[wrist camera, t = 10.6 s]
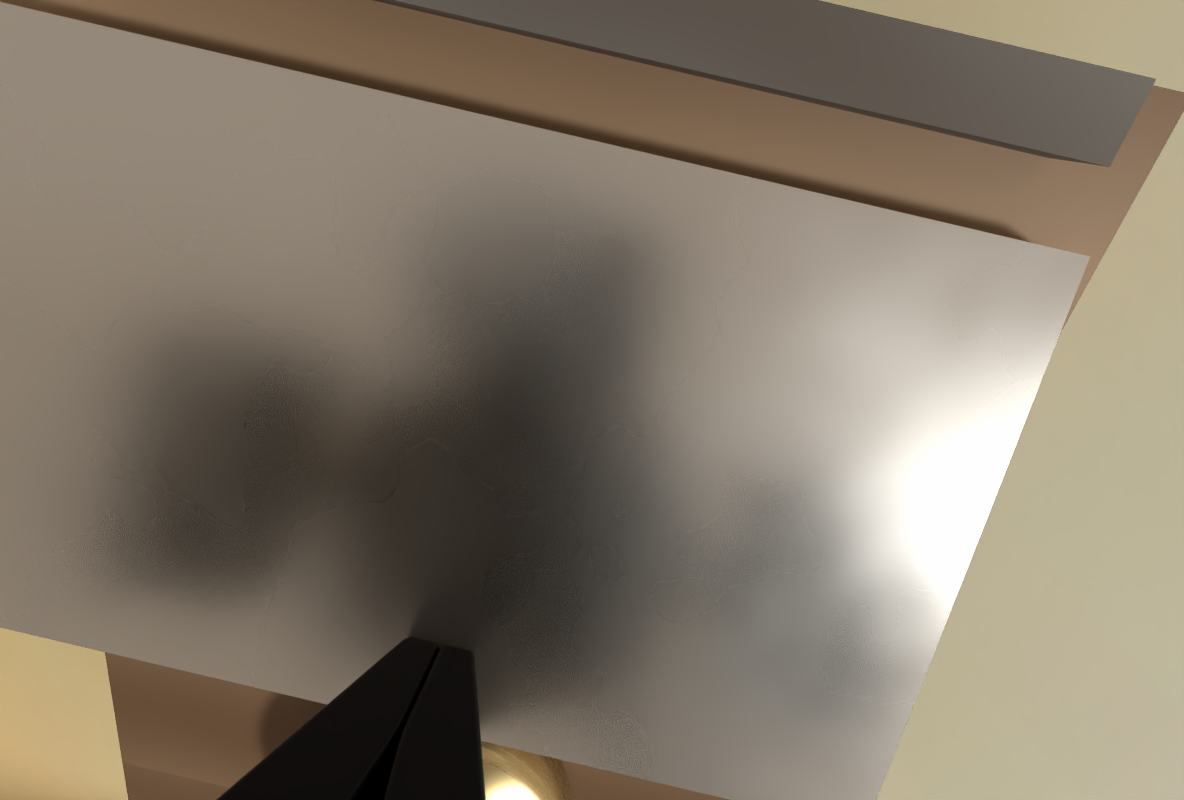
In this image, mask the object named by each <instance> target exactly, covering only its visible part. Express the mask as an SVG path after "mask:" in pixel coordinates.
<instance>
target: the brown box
mask: <svg viewBox="0 0 1184 800" xmlns="http://www.w3.org/2000/svg"><path fill="white" fill-rule="evenodd" d="M1 2H3V3H7V4H12V5H16V6H20V7H24V8H29V9H33V10H37V11H42V12H46V13H50V14H54V15H59V16H63V17H67V18H71V19H76V20H80V21H84V22H89V23H93V24H97V25H101V26H106V27H110V28H114V29H119V30H123V31H127V32H131V33H136V34H140V35H144V36H149V37H153V38H157V39H161V40H166V41H170V42H174V43H178V44H183V45H187V46H191V47H196V48H200V49H204V50H208V51H213V52H217V53H221V54H226V55H230V56H234V57H238V58H243V59H247V60H251V61H255V62H260V63H264V64H268V65H273V66H277V67H281V68H285V69H290V70H294V71H298V72H303V73H307V74H311V75H315V76H320V77H324V78H328V79H333V80H337V81H341V82H345V83H350V84H354V85H358V86H362V87H367V88H371V89H375V90H380V91H384V92H388V93H392V94H397V95H401V96H405V97H410V98H414V99H418V100H422V101H427V102H431V103H435V104H439V105H444V106H448V107H452V108H457V109H461V110H465V111H469V112H474V113H478V114H482V115H487V116H491V117H495V118H499V119H504V120H508V121H512V122H517V123H521V124H525V125H529V126H534V127H538V128H542V129H546V130H551V131H555V132H559V133H564V134H568V135H572V136H576V137H581V138H585V139H589V140H594V141H598V142H602V143H606V144H611V145H615V146H619V147H623V148H628V149H632V150H636V151H641V152H645V153H649V154H653V155H658V156H662V157H666V158H671V159H675V160H679V161H683V162H688V163H692V164H696V165H701V166H705V167H709V168H713V169H718V170H722V171H726V172H730V173H735V174H739V175H743V176H748V177H752V178H756V179H760V180H765V181H769V182H773V183H778V184H782V185H786V186H790V187H795V188H799V189H803V190H807V191H812V192H816V193H820V194H825V195H829V196H833V197H837V198H842V199H846V200H850V201H855V202H859V203H863V204H867V205H872V206H876V207H880V208H885V209H889V210H893V211H897V212H902V213H906V214H910V215H914V216H919V217H923V218H927V219H932V220H936V221H940V222H944V223H949V224H953V225H957V226H962V227H966V228H970V229H974V230H979V231H983V232H987V233H992V234H996V235H1000V236H1004V237H1009V238H1013V239H1017V240H1021V241H1026V242H1030V243H1034V244H1039V245H1043V246H1047V247H1051V248H1056V249H1060V250H1064V251H1069V252H1073V253H1077V254H1081V255H1086V256H1090V259H1089V261H1088V264H1087V266H1086V269H1085V271H1084V274H1083V276H1082V279H1081V281H1080V284H1079V286H1078V289H1077V292H1076V294H1075V297H1074V299H1073V302H1072V304H1071V307H1070V309H1069V312H1068V314H1067V317H1066V319H1065V322H1064V325H1063V327H1062V329H1063V328H1064V326H1065V324H1066V322H1067V320H1068V319H1069V317H1070V315H1071V313H1072V311H1073V310H1074V308H1075V306H1076V304H1077V302H1078V301H1079V299H1080V297H1081V295H1082V293H1083V292H1084V290H1085V288H1086V286H1087V284H1088V283H1089V281H1090V279H1091V277H1092V275H1093V273H1094V272H1095V270H1096V268H1097V266H1098V264H1099V263H1100V261H1101V259H1102V257H1103V255H1104V254H1105V252H1106V250H1107V248H1108V246H1109V245H1110V243H1111V241H1112V239H1113V237H1114V236H1115V234H1116V232H1117V230H1118V228H1119V227H1120V225H1121V223H1122V221H1123V219H1124V218H1125V216H1126V214H1127V212H1128V210H1129V209H1130V207H1131V205H1132V203H1133V201H1134V200H1135V198H1136V196H1137V194H1138V192H1139V191H1140V189H1141V187H1142V185H1143V183H1144V182H1145V180H1146V178H1147V176H1148V174H1149V173H1150V171H1151V169H1152V167H1153V165H1154V164H1155V162H1156V160H1157V158H1158V156H1159V155H1160V153H1161V151H1162V149H1163V147H1164V146H1165V144H1166V142H1167V140H1168V138H1169V137H1170V135H1171V133H1172V131H1173V129H1174V128H1175V126H1176V124H1177V122H1178V120H1179V119H1180V117H1181V115H1182V113H1183V111H1184V92H1179V91H1175V90H1171V89H1166V88H1162V87H1158V86H1154V85H1153V84H1154V82H1155V80H1156V79H1154V78H1150V77H1146V76H1141V75H1137V74H1133V73H1128V72H1124V71H1120V70H1116V69H1111V68H1107V67H1103V66H1098V65H1094V64H1090V63H1086V62H1081V61H1077V60H1073V59H1068V58H1064V57H1060V56H1055V55H1051V54H1047V53H1043V52H1038V51H1034V50H1030V49H1025V48H1021V47H1017V46H1013V45H1008V44H1004V43H1000V42H995V41H991V40H987V39H982V38H978V37H974V36H970V35H965V34H961V33H957V32H952V31H948V30H944V29H940V28H935V27H931V26H927V25H922V24H918V23H914V22H909V21H905V20H901V19H897V18H892V17H888V16H884V15H879V14H875V13H871V12H867V11H862V10H858V9H854V8H849V7H845V6H841V5H836V4H832V3H828V2H824V1H819V0H1ZM1061 331H1062V330H1061ZM1060 333H1061V332H1060ZM105 656H106V662H107V668H108V674H109V681H110V687H111V693H112V699H113V706H114V712H115V718H116V725H117V731H118V737H119V743H120V750H121V756H122V762H123V768H124V775H125V781H126V787H127V794H128V800H216V799H217V798H219V797H220V796H221V795H222V794H223V793H224V792H226V791H227V790H228V789H229V788H230V787H231V786H233V785H234V784H235V783H236V782H237V781H238V780H240V779H241V778H242V777H243V776H244V775H245V774H247V773H248V772H249V771H250V770H251V769H252V768H254V767H255V766H256V765H257V764H258V763H259V762H261V761H262V760H263V759H264V758H265V757H267V756H268V755H269V754H270V753H271V752H272V751H274V750H275V749H276V748H277V747H278V746H279V745H281V744H282V743H283V742H284V741H285V740H286V739H288V738H289V737H290V736H291V735H292V734H293V733H295V732H296V731H297V730H298V729H299V728H300V727H302V726H303V725H304V724H305V723H306V722H307V721H309V720H310V719H311V718H312V717H313V716H314V715H316V714H317V713H318V712H319V711H320V710H321V709H323V708H324V707H325V706H326V705H327V704H323V703H319V702H314V701H310V700H306V699H302V698H297V697H293V696H289V695H285V694H280V693H276V692H272V691H268V690H263V689H259V688H255V687H251V686H247V685H242V684H238V683H234V682H230V681H225V680H221V679H217V678H213V677H208V676H204V675H200V674H196V673H192V672H187V671H183V670H179V669H175V668H170V667H166V666H162V665H158V664H153V663H149V662H145V661H141V660H136V659H132V658H128V657H124V656H120V655H115V654H111V653H107V652H105ZM561 762H562V764H563V766H564V769H565V771H566V774H567V777H568V782H569V787H570V800H729V799H725V798H721V797H716V796H712V795H708V794H704V793H700V792H695V791H691V790H687V789H683V788H678V787H674V786H670V785H666V784H661V783H657V782H653V781H649V780H645V779H640V778H636V777H632V776H628V775H623V774H619V773H615V772H611V771H606V770H602V769H598V768H594V767H589V766H585V765H581V764H577V763H573V762H568V761H564V760H561Z"/></svg>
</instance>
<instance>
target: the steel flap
mask: <svg viewBox="0 0 1184 800" xmlns="http://www.w3.org/2000/svg"><path fill="white" fill-rule="evenodd" d="M1089 259H1090V256H1086V255H1081V254H1077V253H1073V252H1069V251H1064V250H1060V249H1056V248H1051V247H1047V246H1043V245H1039V244H1034V243H1030V242H1026V241H1021V240H1017V239H1013V238H1009V237H1004V236H1000V235H996V234H992V233H987V232H983V231H979V230H974V229H970V228H966V227H962V226H957V225H953V224H949V223H944V222H940V221H936V220H932V219H927V218H923V217H919V216H914V215H910V214H906V213H902V212H897V211H893V210H889V209H885V208H880V207H876V206H872V205H867V204H863V203H859V202H855V201H850V200H846V199H842V198H837V197H833V196H829V195H825V194H820V193H816V192H812V191H807V190H803V189H799V188H795V187H790V186H786V185H782V184H778V183H773V182H769V181H765V180H760V179H756V178H752V177H748V176H743V175H739V174H735V173H730V172H726V171H722V170H718V169H713V168H709V167H705V166H701V165H696V164H692V163H688V162H683V161H679V160H675V159H671V158H666V157H662V156H658V155H653V154H649V153H645V152H641V151H636V150H632V149H628V148H623V147H619V146H615V145H611V144H606V143H602V142H598V141H594V140H589V139H585V138H581V137H576V136H572V135H568V134H564V133H559V132H555V131H551V130H546V129H542V128H538V127H534V126H529V125H525V124H521V123H517V122H512V121H508V120H504V119H499V118H495V117H491V116H487V115H482V114H478V113H474V112H469V111H465V110H461V109H457V108H452V107H448V106H444V105H439V104H435V103H431V102H427V101H422V100H418V99H414V98H410V97H405V96H401V95H397V94H392V93H388V92H384V91H380V90H375V89H371V88H367V87H362V86H358V85H354V84H350V83H345V82H341V81H337V80H333V79H328V78H324V77H320V76H315V75H311V74H307V73H303V72H298V71H294V70H290V69H285V68H281V67H277V66H273V65H268V64H264V63H260V62H255V61H251V60H247V59H243V58H238V57H234V56H230V55H226V54H221V53H217V52H213V51H208V50H204V49H200V48H196V47H191V46H187V45H183V44H178V43H174V42H170V41H166V40H161V39H157V38H153V37H149V36H144V35H140V34H136V33H131V32H127V31H123V30H119V29H114V28H110V27H106V26H101V25H97V24H93V23H89V22H84V21H80V20H76V19H71V18H67V17H63V16H59V15H54V14H50V13H46V12H42V11H37V10H33V9H29V8H24V7H20V6H16V5H12V4H7V3H3V2H0V627H1V628H5V629H9V630H14V631H18V632H22V633H26V634H31V635H35V636H39V637H43V638H48V639H52V640H56V641H60V642H65V643H69V644H73V645H77V646H81V647H86V648H90V649H94V650H98V651H103V652H107V653H111V654H115V655H120V656H124V657H128V658H132V659H136V660H141V661H145V662H149V663H153V664H158V665H162V666H166V667H170V668H175V669H179V670H183V671H187V672H192V673H196V674H200V675H204V676H208V677H213V678H217V679H221V680H225V681H230V682H234V683H238V684H242V685H247V686H251V687H255V688H259V689H263V690H268V691H272V692H276V693H280V694H285V695H289V696H293V697H297V698H302V699H306V700H310V701H314V702H319V703H323V704H329V703H330V702H331V701H332V700H333V699H334V698H336V697H337V696H338V695H339V694H340V693H341V692H343V691H344V690H345V689H346V688H347V687H348V686H350V685H351V684H352V683H353V682H354V681H355V680H357V679H358V678H359V677H360V676H361V675H362V674H364V673H365V672H366V671H367V670H368V669H369V668H371V667H372V666H373V665H374V664H375V663H376V662H378V661H379V660H380V659H381V658H382V657H383V656H385V655H386V654H387V653H388V652H389V651H390V650H392V649H393V648H394V647H395V646H396V645H398V644H399V643H400V642H401V641H402V640H404V639H405V638H409V637H413V638H418V639H422V640H426V641H431V642H435V643H436V644H437V645H438V646H439V649H440V648H441V647H442V646H444V645H448V646H452V647H456V648H461V649H465V650H469V651H471V652H472V653H473V655H474V659H475V671H476V683H477V695H478V708H479V720H480V733H481V741H484V742H488V743H492V744H496V745H501V746H505V747H509V748H513V749H518V750H522V751H526V752H530V753H534V754H539V755H543V756H547V757H551V758H556V759H560V760H564V761H568V762H573V763H577V764H581V765H585V766H589V767H594V768H598V769H602V770H606V771H611V772H615V773H619V774H623V775H628V776H632V777H636V778H640V779H645V780H649V781H653V782H657V783H661V784H666V785H670V786H674V787H678V788H683V789H687V790H691V791H695V792H700V793H704V794H708V795H712V796H716V797H721V798H725V799H729V800H876V799H877V797H878V794H879V791H880V789H881V786H882V784H883V781H884V779H885V776H886V774H887V771H888V769H889V766H890V764H891V761H892V758H893V756H894V753H895V751H896V748H897V746H898V743H899V741H900V738H901V736H902V733H903V731H904V728H905V725H906V723H907V720H908V718H909V715H910V713H911V710H912V708H913V705H914V703H915V700H916V698H917V695H918V692H919V690H920V687H921V685H922V682H923V680H924V677H925V675H926V672H927V670H928V667H929V665H930V662H931V659H932V657H933V654H934V652H935V649H936V647H937V644H938V642H939V639H940V637H941V634H942V632H943V629H944V627H945V624H946V621H947V619H948V616H949V614H950V611H951V609H952V606H953V604H954V601H955V599H956V596H957V594H958V591H959V588H960V586H961V583H962V581H963V578H964V576H965V573H966V571H967V568H968V566H969V563H970V561H971V558H972V555H973V553H974V550H975V548H976V545H977V543H978V540H979V538H980V535H981V533H982V530H983V528H984V525H985V522H986V520H987V517H988V515H989V512H990V510H991V507H992V505H993V502H994V500H995V497H996V495H997V492H998V489H999V487H1000V484H1001V482H1002V479H1003V477H1004V474H1005V472H1006V469H1007V467H1008V464H1009V462H1010V459H1011V456H1012V454H1013V451H1014V449H1015V446H1016V444H1017V441H1018V439H1019V436H1020V434H1021V431H1022V429H1023V426H1024V423H1025V421H1026V418H1027V416H1028V413H1029V411H1030V408H1031V406H1032V403H1033V401H1034V398H1035V396H1036V393H1037V390H1038V388H1039V385H1040V383H1041V380H1042V378H1043V375H1044V373H1045V370H1046V368H1047V365H1048V363H1049V360H1050V358H1051V355H1052V352H1053V350H1054V347H1055V345H1056V342H1057V340H1058V337H1059V335H1060V332H1061V330H1062V327H1063V325H1064V322H1065V319H1066V317H1067V314H1068V312H1069V309H1070V307H1071V304H1072V302H1073V299H1074V297H1075V294H1076V292H1077V289H1078V286H1079V284H1080V281H1081V279H1082V276H1083V274H1084V271H1085V269H1086V266H1087V264H1088V261H1089Z"/></svg>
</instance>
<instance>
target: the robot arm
mask: <svg viewBox="0 0 1184 800" xmlns="http://www.w3.org/2000/svg"><path fill="white" fill-rule="evenodd" d="M216 800H486V795H485V782H484V770H483V757H482V745H481V733H480V720H479V708H478V695H477V683H476V671H475V659H474V655H473V653H472V652H471V651H469V650H465V649H461V648H456V647H452V646H448V645H444V646H442V647H441V648H440V649H439V646H438V645H437V644H436V643H435V642H431V641H426V640H422V639H418V638H413V637H409V638H405V639H404V640H402V641H401V642H400V643H399V644H398V645H396V646H395V647H394V648H393V649H392V650H390V651H389V652H388V653H387V654H386V655H385V656H383V657H382V658H381V659H380V660H379V661H378V662H376V663H375V664H374V665H373V666H372V667H371V668H369V669H368V670H367V671H366V672H365V673H364V674H362V675H361V676H360V677H359V678H358V679H357V680H355V681H354V682H353V683H352V684H351V685H350V686H348V687H347V688H346V689H345V690H344V691H343V692H341V693H340V694H339V695H338V696H337V697H336V698H334V699H333V700H332V701H331V702H330V703H329V704H327V705H326V706H325V707H324V708H323V709H321V710H320V711H319V712H318V713H317V714H316V715H314V716H313V717H312V718H311V719H310V720H309V721H307V722H306V723H305V724H304V725H303V726H302V727H300V728H299V729H298V730H297V731H296V732H295V733H293V734H292V735H291V736H290V737H289V738H288V739H286V740H285V741H284V742H283V743H282V744H281V745H279V746H278V747H277V748H276V749H275V750H274V751H272V752H271V753H270V754H269V755H268V756H267V757H265V758H264V759H263V760H262V761H261V762H259V763H258V764H257V765H256V766H255V767H254V768H252V769H251V770H250V771H249V772H248V773H247V774H245V775H244V776H243V777H242V778H241V779H240V780H238V781H237V782H236V783H235V784H234V785H233V786H231V787H230V788H229V789H228V790H227V791H226V792H224V793H223V794H222V795H221V796H220V797H219V798H217V799H216Z"/></svg>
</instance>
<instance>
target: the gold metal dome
mask: <svg viewBox="0 0 1184 800" xmlns="http://www.w3.org/2000/svg"><path fill="white" fill-rule="evenodd" d="M481 745H482V757H483V770H484V782H485V795H486V800H570V787H569V782H568V777H567V774H566V771H565V769H564V766H563V764H562V762H561V760H560V759H556V758H551V757H547V756H543V755H539V754H534V753H530V752H526V751H522V750H518V749H513V748H509V747H505V746H501V745H496V744H492V743H488V742H484V741H481Z"/></svg>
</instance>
